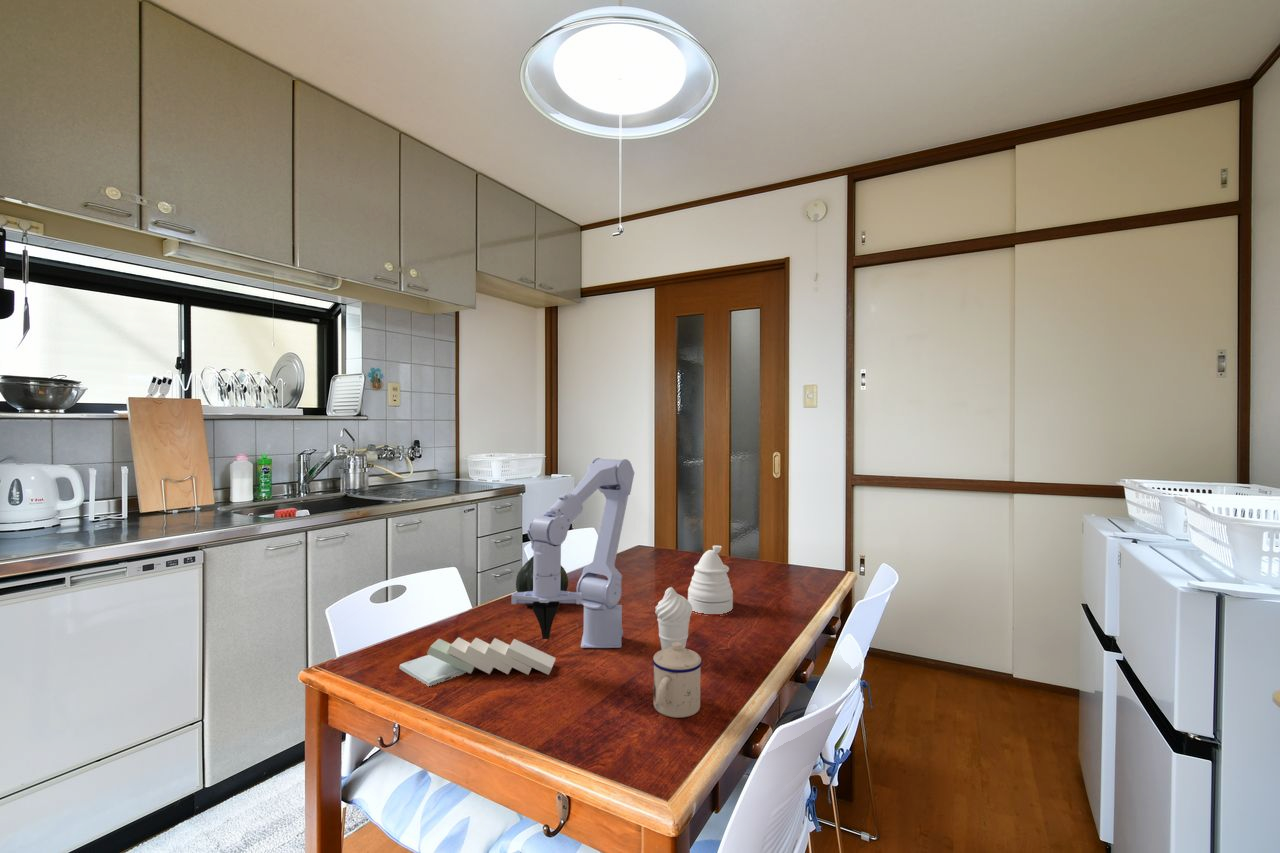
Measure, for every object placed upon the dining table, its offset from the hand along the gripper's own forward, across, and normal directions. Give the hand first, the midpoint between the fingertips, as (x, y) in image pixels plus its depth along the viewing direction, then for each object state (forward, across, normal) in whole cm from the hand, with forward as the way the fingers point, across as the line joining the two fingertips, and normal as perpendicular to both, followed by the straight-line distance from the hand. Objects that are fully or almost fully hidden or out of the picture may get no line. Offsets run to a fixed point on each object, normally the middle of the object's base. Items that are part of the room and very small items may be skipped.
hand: (546, 637), depth 117 cm
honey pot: (+7, +42, +40) cm, 58 cm away
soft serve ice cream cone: (+7, +28, +5) cm, 29 cm away
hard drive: (+8, -24, 0) cm, 25 cm away
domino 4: (+6, -3, 0) cm, 7 cm away
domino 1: (+6, -15, 0) cm, 16 cm away
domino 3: (+6, -7, 0) cm, 9 cm away
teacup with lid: (+7, +26, -17) cm, 31 cm away
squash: (+7, -8, +45) cm, 46 cm away
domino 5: (+6, +1, 0) cm, 6 cm away
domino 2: (+6, -11, 0) cm, 12 cm away
